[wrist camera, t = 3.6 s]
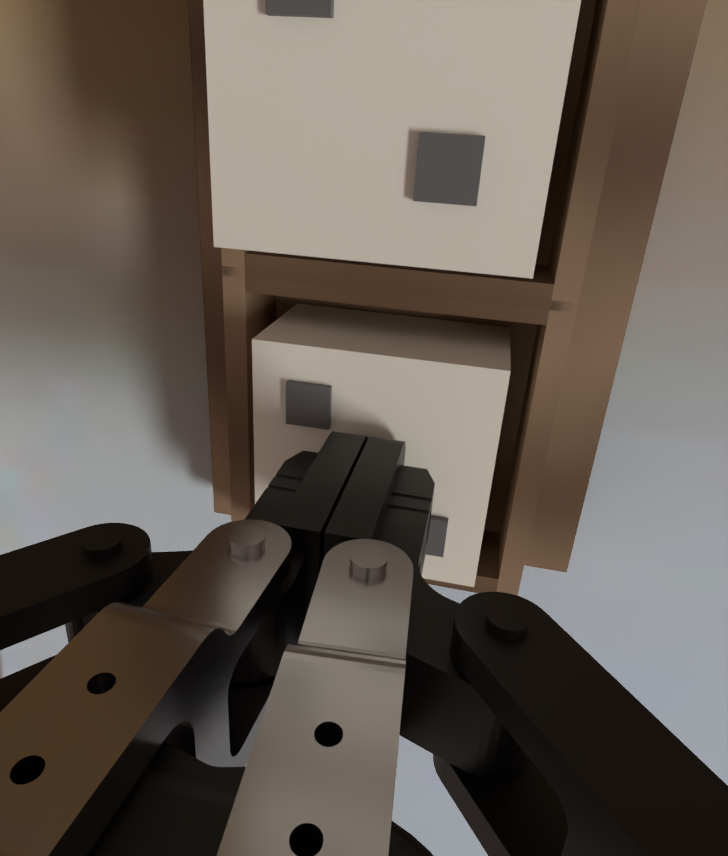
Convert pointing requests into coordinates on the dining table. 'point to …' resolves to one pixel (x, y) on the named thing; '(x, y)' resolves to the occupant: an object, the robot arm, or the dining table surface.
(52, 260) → the dining table surface
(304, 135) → the tile two
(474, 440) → the tile three
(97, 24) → the dining table surface
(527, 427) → the brown tile tray
